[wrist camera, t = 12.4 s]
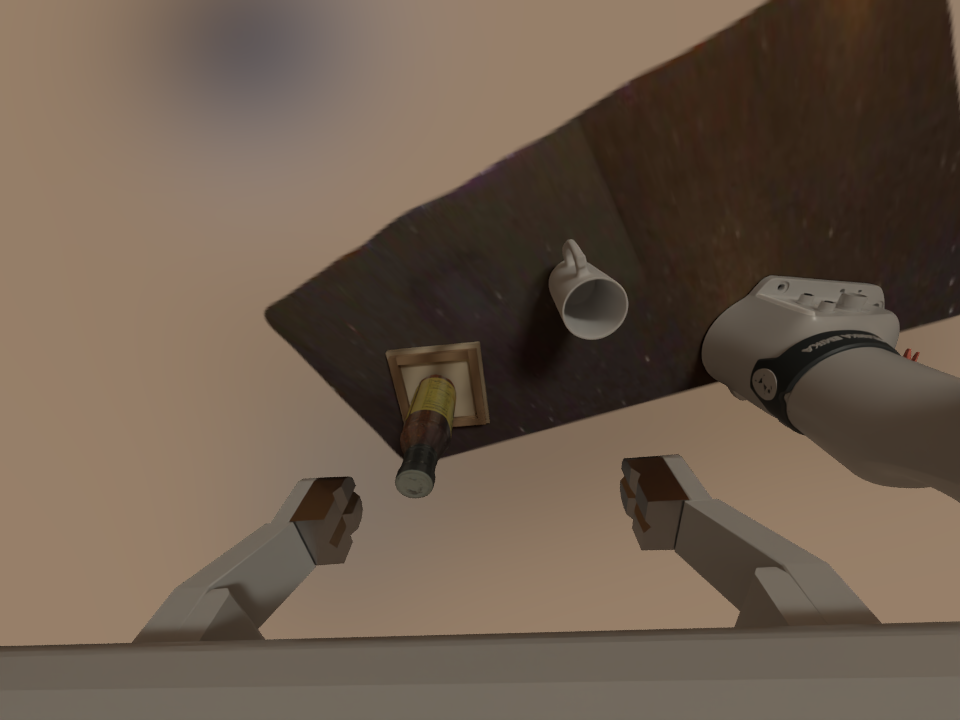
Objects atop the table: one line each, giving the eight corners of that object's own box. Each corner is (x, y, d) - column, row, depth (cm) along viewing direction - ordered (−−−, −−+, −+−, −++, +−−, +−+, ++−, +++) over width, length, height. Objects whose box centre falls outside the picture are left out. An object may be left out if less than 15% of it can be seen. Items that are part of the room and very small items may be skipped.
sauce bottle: (437, 413, 56) (412, 518, 38) (409, 388, 54) (367, 486, 36) (467, 389, 54) (454, 490, 36) (438, 363, 52) (410, 454, 34)
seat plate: (479, 341, 51) (479, 347, 49) (489, 419, 57) (489, 426, 55) (387, 350, 52) (383, 356, 50) (407, 425, 58) (404, 432, 56)
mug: (601, 297, 47) (633, 328, 37) (553, 312, 49) (570, 347, 38) (585, 222, 43) (616, 234, 33) (533, 241, 45) (546, 258, 34)
